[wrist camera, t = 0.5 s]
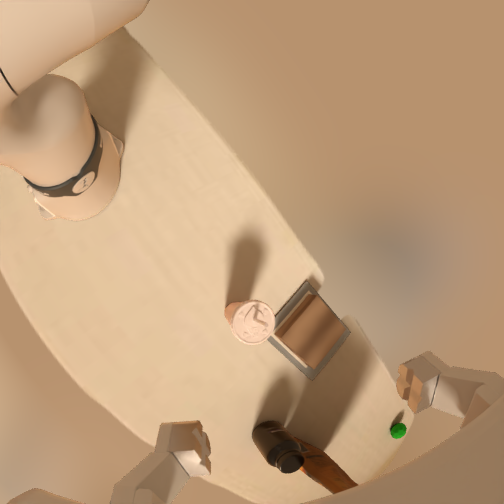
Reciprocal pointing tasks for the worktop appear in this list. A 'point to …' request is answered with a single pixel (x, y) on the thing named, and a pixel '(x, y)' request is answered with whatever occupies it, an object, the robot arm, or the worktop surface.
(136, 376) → the worktop surface
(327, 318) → the base block
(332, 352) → the mat
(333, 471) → the pancake mix bag
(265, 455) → the supplement bottle
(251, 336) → the smoothie
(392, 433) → the polyhedron
